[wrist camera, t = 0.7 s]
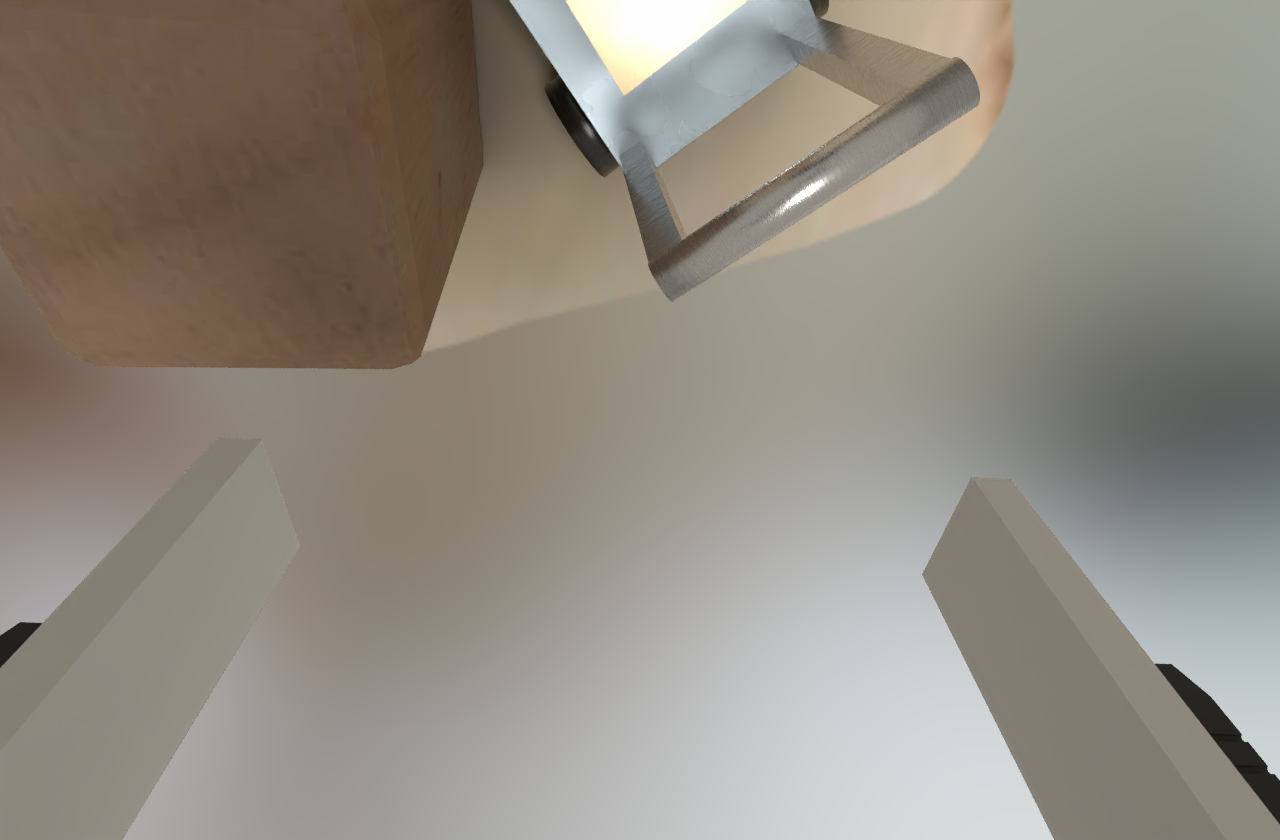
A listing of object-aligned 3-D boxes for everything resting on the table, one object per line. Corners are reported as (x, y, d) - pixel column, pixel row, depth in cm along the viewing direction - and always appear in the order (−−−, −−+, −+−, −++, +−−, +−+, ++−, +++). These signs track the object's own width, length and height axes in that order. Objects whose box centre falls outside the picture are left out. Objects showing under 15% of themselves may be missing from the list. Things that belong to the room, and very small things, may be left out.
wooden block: (486, 178, 34) (425, 382, 18) (296, 169, 33) (58, 380, 17) (470, -45, 28) (358, -23, 12) (235, -68, 26) (-224, -76, 11)
